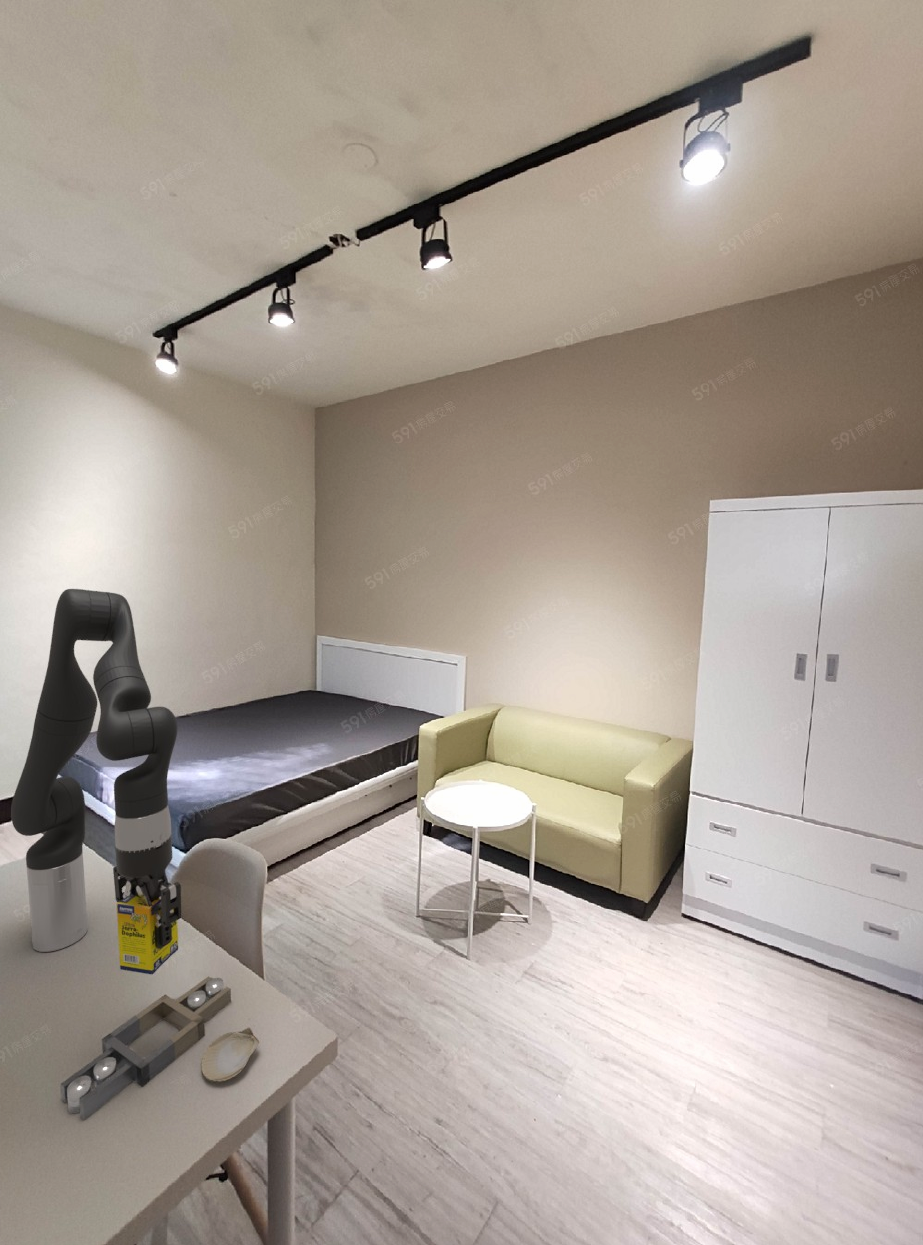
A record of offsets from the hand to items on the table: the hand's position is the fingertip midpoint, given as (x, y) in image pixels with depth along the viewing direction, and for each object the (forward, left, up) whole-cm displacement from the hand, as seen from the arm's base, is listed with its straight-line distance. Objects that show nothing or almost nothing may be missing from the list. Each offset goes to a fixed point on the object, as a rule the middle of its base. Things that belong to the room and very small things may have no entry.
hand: (149, 936), depth 86 cm
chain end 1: (0, -6, -19) cm, 20 cm away
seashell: (+13, +4, -19) cm, 23 cm away
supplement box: (0, 0, -4) cm, 4 cm away
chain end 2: (0, +6, -19) cm, 20 cm away
